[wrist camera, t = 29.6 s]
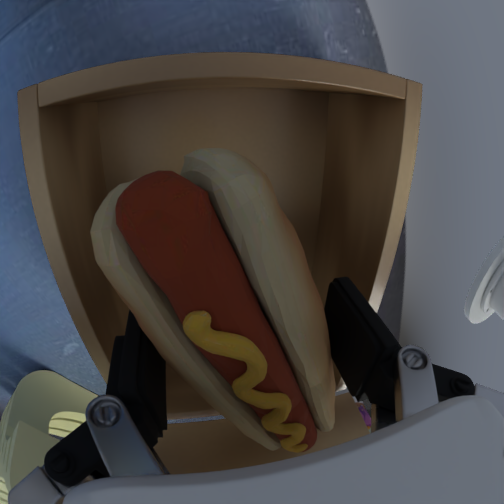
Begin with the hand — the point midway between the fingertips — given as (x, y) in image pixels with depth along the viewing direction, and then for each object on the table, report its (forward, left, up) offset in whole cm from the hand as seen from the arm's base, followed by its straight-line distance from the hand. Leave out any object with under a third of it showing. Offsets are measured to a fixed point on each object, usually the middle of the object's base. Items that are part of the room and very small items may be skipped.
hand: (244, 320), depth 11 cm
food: (0, 0, -1) cm, 1 cm away
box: (0, 0, -9) cm, 9 cm away
